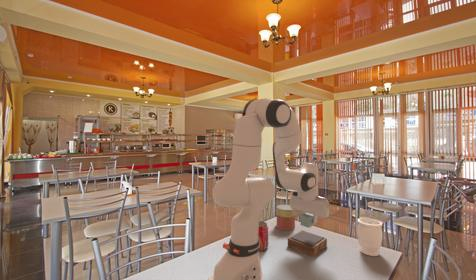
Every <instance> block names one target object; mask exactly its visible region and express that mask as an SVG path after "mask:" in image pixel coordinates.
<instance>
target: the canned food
mask: <svg viewBox="0 0 476 280" xmlns="http://www.w3.org/2000/svg"><path fill="white" fill-rule="evenodd" d="M276 228H278V229H280V230H283V231H292V230H295V228H296V210H295V209H292V208H291V207H290V204H278V205H277V206H276Z"/></svg>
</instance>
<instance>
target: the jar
mask: <svg viewBox="0 0 476 280" xmlns="http://www.w3.org/2000/svg"><path fill="white" fill-rule="evenodd" d="M357 223H358V224H357V229H356V230H357V231H356V233H357V240H358V241H357V242H358V245H359V246H360V247H359V251H360V253H362V254H364V255H367V256H370V257H378V256H380V249H381V246H382V242H383V222H382V221H381V220H378V219H375V218H371V217H359V218H357Z"/></svg>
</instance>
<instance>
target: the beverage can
mask: <svg viewBox="0 0 476 280" xmlns="http://www.w3.org/2000/svg"><path fill="white" fill-rule="evenodd" d="M258 239H259V244H260V249H259V251H265V250H267V249H268V248H269V227H268V223H267V222H265V221H261V220H260V221H259V232H258Z"/></svg>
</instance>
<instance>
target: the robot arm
mask: <svg viewBox="0 0 476 280" xmlns="http://www.w3.org/2000/svg"><path fill="white" fill-rule="evenodd" d="M265 128H273V132H274V133H273V134H274V137H275V141H274V142H273V144H272V158H273V166H274V181H275V183H276V185H277V186H278V188H280V189H287V190H292V191H290V195H291V196H290V198H289V205H290V207H291V208H292V209H295V211H298V214H299V216H300V217H301V215H302V214H304V213H309V214H313V215H314V217H315V218H314V219H312V223H314V224H315V223H316V224H317V219H318V218H319V217H320V218H324V219H326V218H328V217H329V216H330V201H329V200H328V198H326V197H322V196H319V187H318V183H319V179H320V178H319V177H320V176H319V167H318V164H316V163H314V162H305V161H304V162H301V166H300V169H298V170H297V169H290V168H288V167H287V166H286V157H285V154H288V153H291V152H293V151H295V150H296V149H297V148H298V147H300V145H301V143H302V140H303V137H302V132H301V127H300V123H299V121H298V118H297V116H296V113H295V111H294V110H293V109H292V108H291V107H290V105H289V103H288V102H286V101H285V100H282V99H272V98H265V97H264V98H259V99H258V98H255V99H252V100H251V99H250V100H249V101H247V103H246V104H245V105H244V107H243V111H242V113H241V116H239V118H238V119H236V122H235V127H234V132H233V139H232V140H233V142H232V153H231V154H232V155H231V162H230V165H229V167H228V170H227V171H226V173H225V174H224V176H222V178H220V179H219V180H218V181H216V183H214V186H213V188H212V198H213V200H214V202H215V204H216V205H217V206H218V207H224V208H237V207H243V208H242V209H241V210H240V211H239V212H238V213H237V214H235V215H234V216H232V219H231V221H230V238H229V241H228V243H226V242H224V243H223V244H222V248H223V249H225V250H226V251H225V253H224V254H223V255H222V256H221V258H220V259H219V261H218V262H217V263H216V264H215V267H214V268H213V274H212V275H211V276H210V277H209V278H208V279H207V280H264V279H263V272H262V265H261V257H260V252H259V249H260V244H259V239H258V232H259V221H261V217H262V214H263V212H264V210H265V209H266V207H267V206H268V205H269V204H270V203H271V202H272V201H273V200H274V198H275V196H276V186H275V184H274V182H273V181H272V179H271V178H268V177H261V176H254V177H253V176H252V177H250V176H249V174H250V173H252V172H253V171H254V170H256V169H257V168H258V167H259V166H260V164H261V158H262V143H263V142H262V141H263V140H262V138H263V137H262V136H263V135H262V134H263V131H264V129H265ZM248 176H249V177H248ZM316 224H315V225H316Z"/></svg>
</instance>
